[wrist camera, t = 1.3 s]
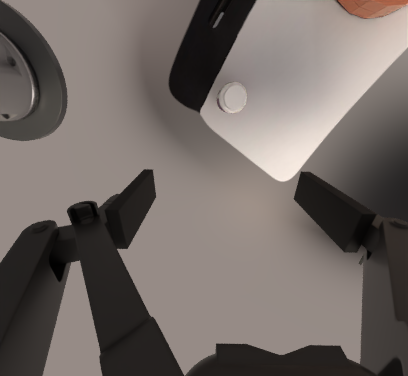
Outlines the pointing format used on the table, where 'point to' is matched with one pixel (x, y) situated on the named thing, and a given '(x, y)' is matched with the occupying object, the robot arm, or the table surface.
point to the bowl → (372, 7)
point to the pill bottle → (232, 97)
